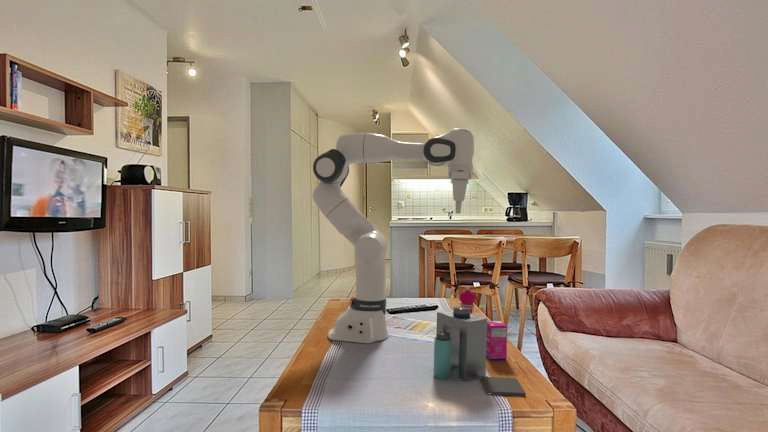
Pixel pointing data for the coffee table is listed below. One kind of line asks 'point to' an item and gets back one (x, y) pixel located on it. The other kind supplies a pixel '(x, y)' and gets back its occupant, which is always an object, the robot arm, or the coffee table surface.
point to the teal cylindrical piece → (442, 356)
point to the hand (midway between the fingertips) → (458, 212)
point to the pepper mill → (467, 298)
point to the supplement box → (496, 340)
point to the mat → (503, 386)
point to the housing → (465, 341)
